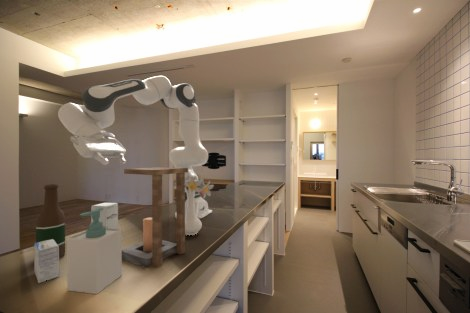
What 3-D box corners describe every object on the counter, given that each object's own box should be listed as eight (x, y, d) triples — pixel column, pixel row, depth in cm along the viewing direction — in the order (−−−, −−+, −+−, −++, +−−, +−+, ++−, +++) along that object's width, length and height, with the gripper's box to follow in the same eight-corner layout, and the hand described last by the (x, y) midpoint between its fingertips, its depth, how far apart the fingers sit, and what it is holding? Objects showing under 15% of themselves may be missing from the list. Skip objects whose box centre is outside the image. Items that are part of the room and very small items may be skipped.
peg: (150, 251, 75) (150, 216, 75) (158, 253, 73) (158, 218, 73) (140, 255, 72) (140, 219, 72) (148, 258, 70) (148, 221, 70)
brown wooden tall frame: (156, 242, 83) (155, 167, 83) (188, 251, 75) (187, 168, 75) (120, 258, 70) (119, 168, 70) (154, 270, 62) (153, 170, 62)
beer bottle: (41, 265, 65) (41, 186, 66) (30, 259, 69) (30, 185, 69) (70, 255, 72) (70, 183, 72) (59, 250, 76) (59, 182, 76)
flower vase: (206, 241, 84) (206, 177, 84) (165, 236, 89) (165, 176, 90) (218, 230, 97) (218, 174, 97) (181, 226, 102) (181, 173, 102)
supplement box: (105, 236, 89) (105, 206, 90) (90, 235, 91) (90, 205, 91) (118, 230, 97) (118, 202, 97) (104, 229, 98) (104, 202, 98)
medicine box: (59, 277, 59) (59, 245, 59) (37, 284, 56) (37, 250, 56) (54, 267, 64) (54, 238, 64) (33, 273, 61) (33, 242, 61)
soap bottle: (65, 291, 53) (65, 213, 53) (95, 272, 61) (95, 205, 61) (96, 295, 51) (96, 214, 51) (122, 275, 60) (121, 206, 60)
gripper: (73, 128, 71) (100, 157, 70) (115, 134, 92) (137, 157, 90) (61, 142, 72) (88, 171, 71) (106, 145, 92) (127, 167, 91)
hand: (116, 163), depth 81 cm, fingers open, 8 cm apart
